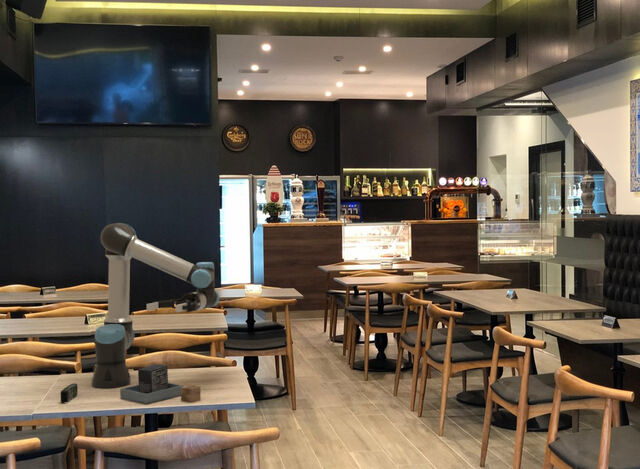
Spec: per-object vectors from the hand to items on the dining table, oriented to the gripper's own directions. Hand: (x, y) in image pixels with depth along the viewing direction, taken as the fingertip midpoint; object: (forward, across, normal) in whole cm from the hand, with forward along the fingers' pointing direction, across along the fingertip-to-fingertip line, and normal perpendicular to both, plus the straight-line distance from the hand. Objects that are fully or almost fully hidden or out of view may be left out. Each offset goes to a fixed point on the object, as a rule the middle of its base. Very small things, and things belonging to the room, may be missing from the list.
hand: (161, 308), depth 294 cm
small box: (+8, -2, -32) cm, 33 cm away
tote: (+10, -2, -32) cm, 33 cm away
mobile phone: (+22, +26, -32) cm, 47 cm away
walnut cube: (+9, -18, -32) cm, 38 cm away
